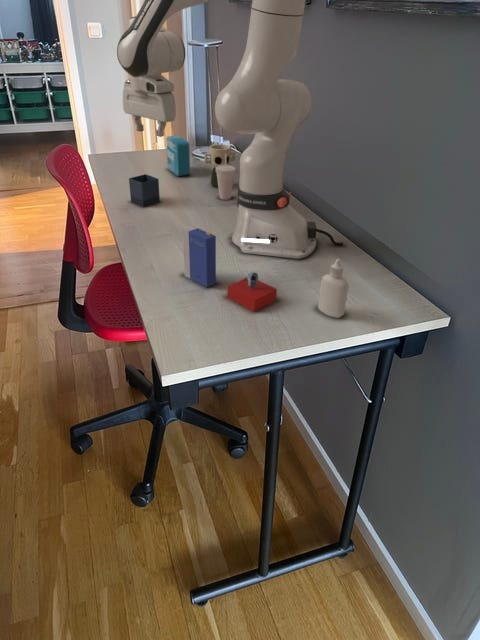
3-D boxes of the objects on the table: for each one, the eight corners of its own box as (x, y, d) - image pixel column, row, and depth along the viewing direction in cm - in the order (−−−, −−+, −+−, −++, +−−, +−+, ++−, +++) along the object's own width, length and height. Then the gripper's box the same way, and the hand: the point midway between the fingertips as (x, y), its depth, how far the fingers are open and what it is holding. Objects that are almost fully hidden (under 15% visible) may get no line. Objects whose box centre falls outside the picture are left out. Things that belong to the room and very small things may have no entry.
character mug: (208, 190, 169) (207, 150, 162) (201, 183, 175) (201, 145, 168) (238, 187, 173) (239, 148, 166) (231, 180, 178) (231, 143, 171)
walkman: (216, 283, 114) (215, 234, 107) (206, 287, 112) (206, 237, 106) (193, 272, 119) (192, 224, 112) (184, 275, 117) (182, 227, 110)
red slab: (227, 297, 109) (227, 271, 105) (249, 287, 113) (250, 261, 110) (254, 311, 104) (255, 284, 101) (275, 300, 108) (277, 274, 105)
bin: (159, 202, 158) (143, 207, 154) (147, 197, 162) (131, 201, 158) (158, 178, 154) (141, 183, 150) (145, 174, 158) (128, 178, 154)
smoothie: (236, 195, 166) (236, 151, 158) (233, 201, 160) (234, 157, 153) (216, 194, 166) (216, 150, 158) (214, 200, 161) (213, 156, 153)
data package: (167, 168, 189) (165, 135, 183) (178, 167, 191) (177, 134, 185) (178, 177, 180) (177, 143, 174) (190, 176, 182) (189, 142, 176)
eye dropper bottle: (334, 304, 107) (342, 252, 101) (346, 317, 103) (354, 265, 96) (315, 306, 106) (322, 254, 100) (326, 320, 102) (333, 267, 95)
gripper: (115, 79, 145) (120, 129, 153) (160, 87, 134) (163, 141, 141) (132, 77, 149) (136, 126, 157) (178, 85, 138) (180, 137, 145)
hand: (150, 133), depth 149 cm, fingers open, 8 cm apart
